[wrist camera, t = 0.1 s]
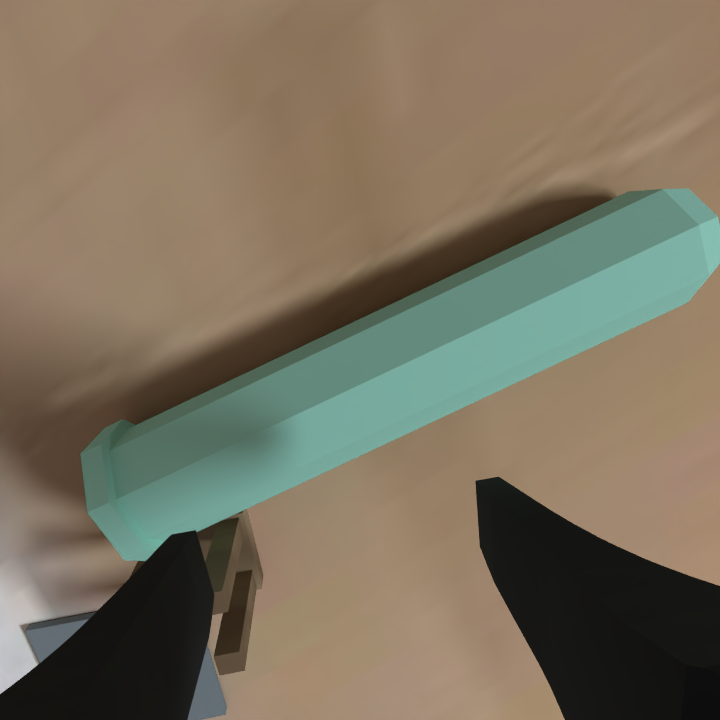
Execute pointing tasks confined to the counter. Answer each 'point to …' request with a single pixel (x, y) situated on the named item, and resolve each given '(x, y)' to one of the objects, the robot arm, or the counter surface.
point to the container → (399, 368)
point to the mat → (58, 631)
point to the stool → (231, 585)
